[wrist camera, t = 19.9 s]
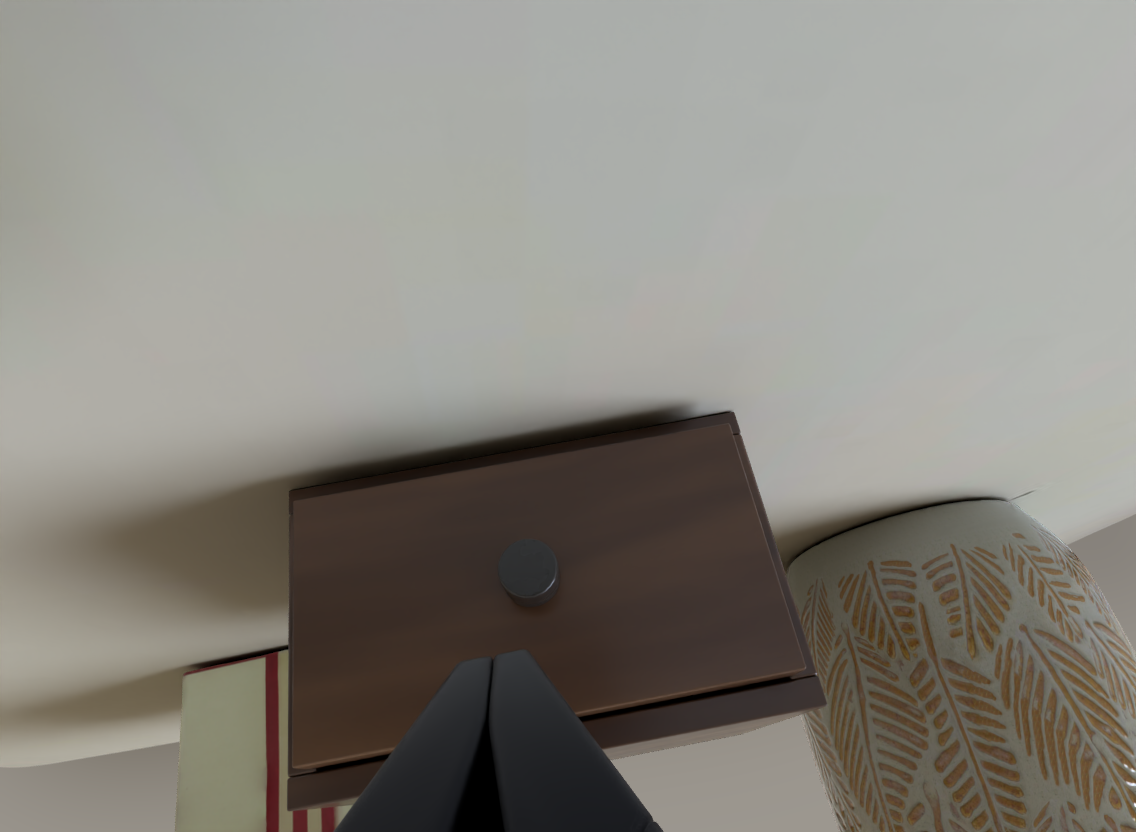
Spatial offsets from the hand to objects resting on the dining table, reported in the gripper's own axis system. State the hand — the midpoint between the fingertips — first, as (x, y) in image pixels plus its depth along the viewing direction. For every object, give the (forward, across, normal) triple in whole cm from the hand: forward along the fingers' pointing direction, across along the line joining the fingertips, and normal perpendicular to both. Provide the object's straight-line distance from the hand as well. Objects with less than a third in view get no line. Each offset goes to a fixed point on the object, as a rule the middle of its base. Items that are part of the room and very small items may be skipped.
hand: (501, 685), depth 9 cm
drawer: (+17, 0, +6) cm, 18 cm away
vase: (+30, -21, +18) cm, 41 cm away
